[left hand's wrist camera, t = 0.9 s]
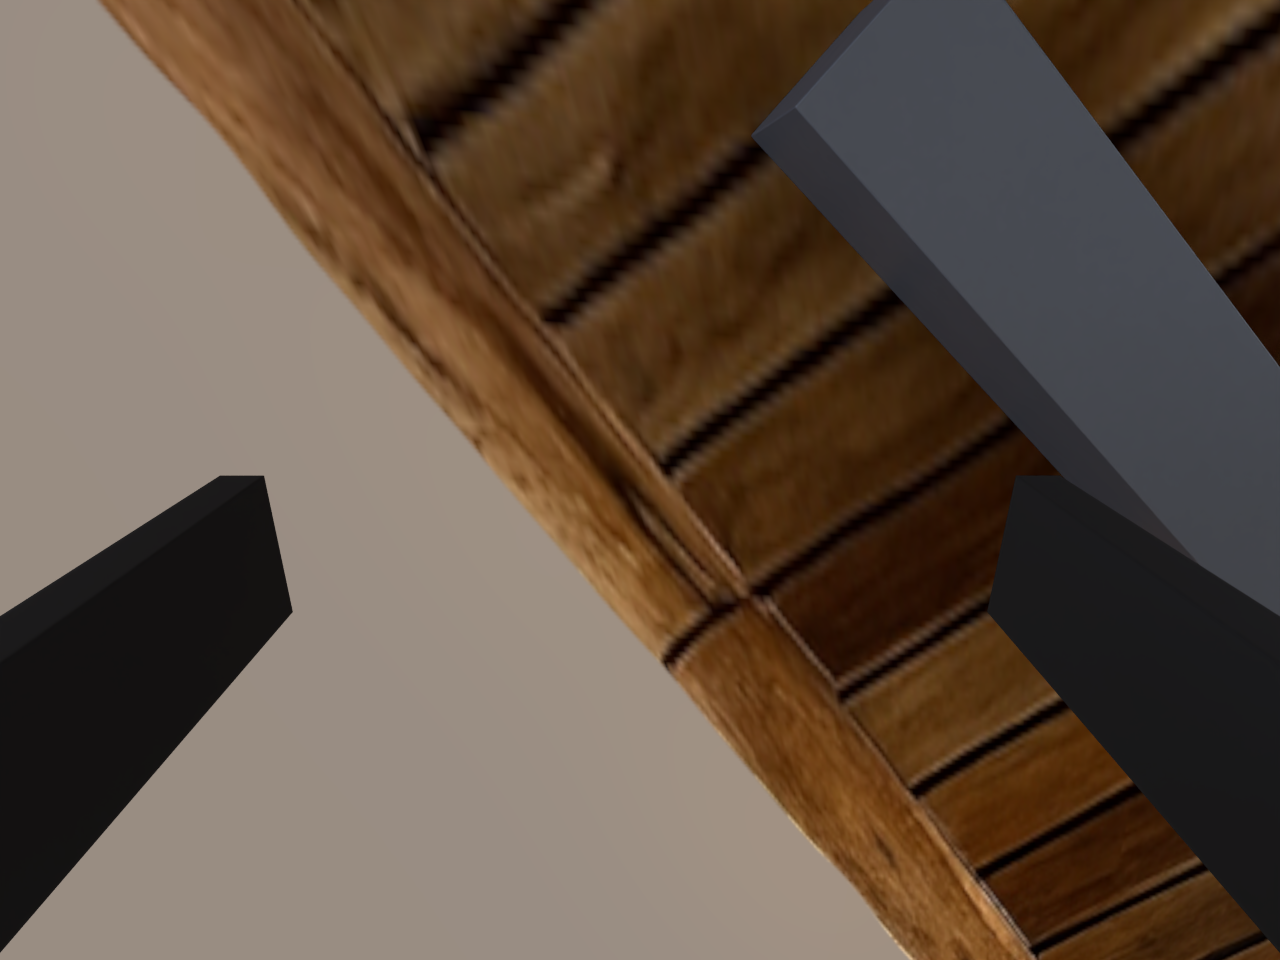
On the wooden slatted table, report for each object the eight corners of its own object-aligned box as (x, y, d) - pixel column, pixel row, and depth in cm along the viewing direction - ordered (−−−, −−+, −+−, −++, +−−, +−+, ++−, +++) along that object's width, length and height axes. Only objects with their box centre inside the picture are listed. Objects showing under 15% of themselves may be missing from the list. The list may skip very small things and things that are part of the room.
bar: (750, 135, 29) (794, 106, 21) (860, 11, 27) (953, -72, 19) (1408, 853, 43) (1580, 996, 35) (1504, 799, 42) (1706, 935, 34)
